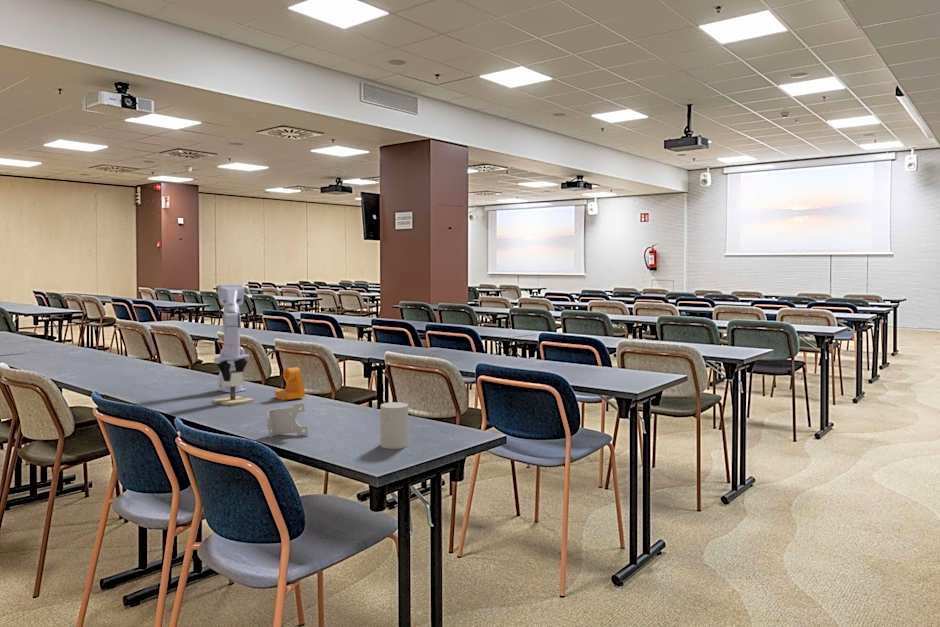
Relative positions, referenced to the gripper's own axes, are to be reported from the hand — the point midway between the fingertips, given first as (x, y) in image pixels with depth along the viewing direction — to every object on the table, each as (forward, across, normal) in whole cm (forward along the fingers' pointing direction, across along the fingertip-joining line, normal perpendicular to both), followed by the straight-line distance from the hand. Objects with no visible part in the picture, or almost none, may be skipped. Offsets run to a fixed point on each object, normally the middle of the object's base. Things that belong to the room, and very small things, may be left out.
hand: (232, 380), depth 266 cm
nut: (+2, 0, 0) cm, 2 cm away
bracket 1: (+9, +18, -11) cm, 23 cm away
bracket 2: (+9, -22, -57) cm, 62 cm away
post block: (+8, 0, 0) cm, 8 cm away
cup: (+9, -10, -90) cm, 91 cm away
